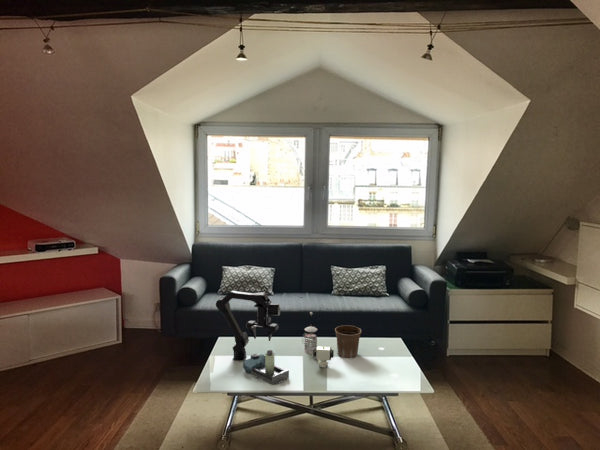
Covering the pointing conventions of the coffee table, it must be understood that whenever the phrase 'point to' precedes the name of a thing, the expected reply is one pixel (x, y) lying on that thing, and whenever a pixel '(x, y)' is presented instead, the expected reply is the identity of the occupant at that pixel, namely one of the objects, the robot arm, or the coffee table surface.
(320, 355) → the pneumatic valve
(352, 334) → the plant pot
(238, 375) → the coffee table surface
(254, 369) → the grey tray with cylinder
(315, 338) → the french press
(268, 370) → the pale green bottle
